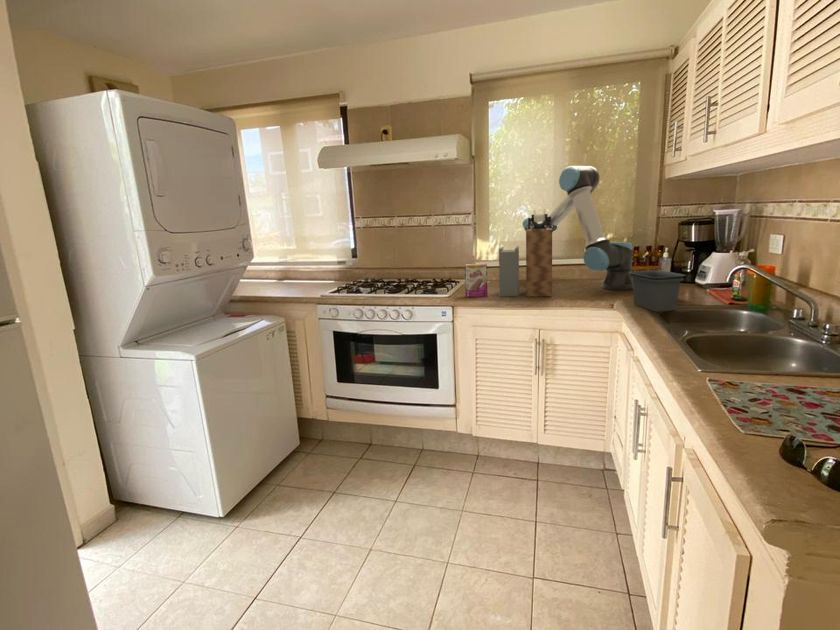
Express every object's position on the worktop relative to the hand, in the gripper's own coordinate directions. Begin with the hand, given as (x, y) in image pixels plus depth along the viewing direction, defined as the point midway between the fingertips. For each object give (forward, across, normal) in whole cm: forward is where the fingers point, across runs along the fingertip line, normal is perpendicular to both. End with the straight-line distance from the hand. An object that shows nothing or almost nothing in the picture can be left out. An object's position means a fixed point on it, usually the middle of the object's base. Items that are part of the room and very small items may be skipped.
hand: (539, 212), depth 226 cm
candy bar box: (-11, +31, -40) cm, 52 cm away
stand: (-14, 0, -38) cm, 41 cm away
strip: (+1, 0, -5) cm, 5 cm away
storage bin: (+13, -46, -54) cm, 73 cm away
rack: (-16, +15, -37) cm, 43 cm away
